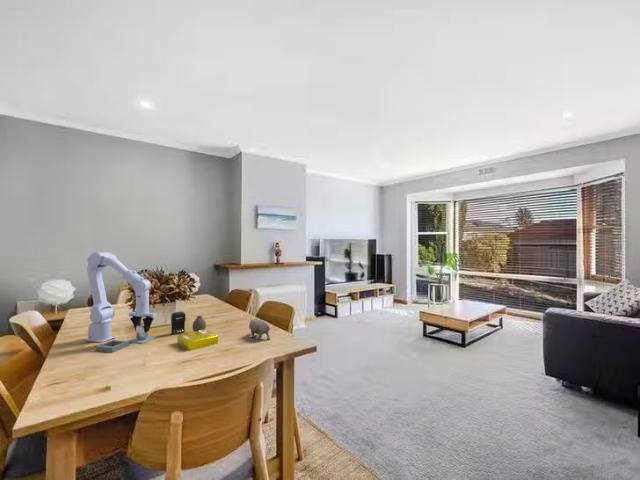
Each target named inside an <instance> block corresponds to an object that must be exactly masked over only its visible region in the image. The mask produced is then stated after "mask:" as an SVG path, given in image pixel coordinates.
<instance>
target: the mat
mask: <svg viewBox="0 0 640 480" xmlns="http://www.w3.org/2000/svg"><path fill="white" fill-rule="evenodd" d="M157 338H158V337H157V336H151V335H150V336H149V335H148V337H147V338H143V339H136V337H134V338H132V339H130V340H128V341H129V344H130V343H131V344H141V345H142V344H145V343H148V342H150V341H152V340H156V339H157Z"/></svg>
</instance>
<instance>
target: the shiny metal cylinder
mask: <svg viewBox="0 0 640 480" xmlns="http://www.w3.org/2000/svg"><path fill="white" fill-rule="evenodd" d="M148 332H149V331H148ZM148 332H145V331H144V323H142V324H140V325H137V326H136V331H135V338H136V339H143V338H147V337H148V336H149V333H148Z"/></svg>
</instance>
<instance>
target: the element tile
mask: <svg viewBox="0 0 640 480" xmlns="http://www.w3.org/2000/svg"><path fill="white" fill-rule="evenodd" d="M176 343H177V345H178V346H180V348H183V349H184V350H186V351H194V350H199V349H203V348H205V347H206V348H207V347H209V346H213V345H216V344H218V343H219V335H218V334H216V333H214V332H213V331H210V330H208V329H205V330H200V331H195V332H194V331H190V332H186V333H185V332H184V333H180V334H177V342H176Z"/></svg>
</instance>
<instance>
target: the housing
mask: <svg viewBox="0 0 640 480" xmlns="http://www.w3.org/2000/svg"><path fill="white" fill-rule="evenodd" d="M129 346H130V342H129V340H127V341H125V340H115V339H113V340H112V339H111V341H107V342H104V343H102V344H98V345H96V346H95V351H96V352H104V353H114V352H117V351H119V350H122V349H124V348H127V347H129Z"/></svg>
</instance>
